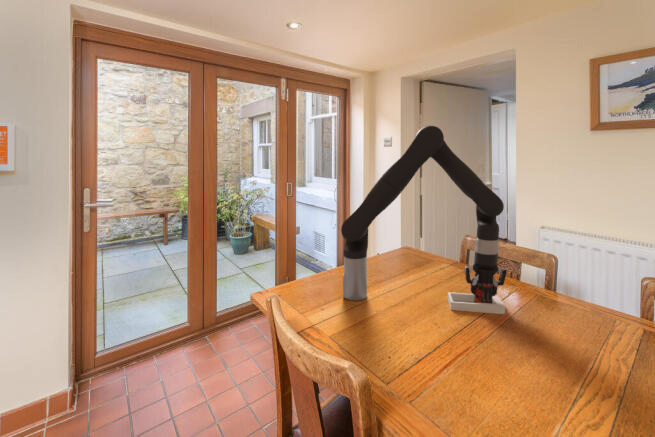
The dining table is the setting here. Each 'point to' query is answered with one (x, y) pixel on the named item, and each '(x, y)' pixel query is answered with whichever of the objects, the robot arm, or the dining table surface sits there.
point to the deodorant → (484, 286)
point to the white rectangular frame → (475, 304)
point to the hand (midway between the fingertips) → (483, 294)
